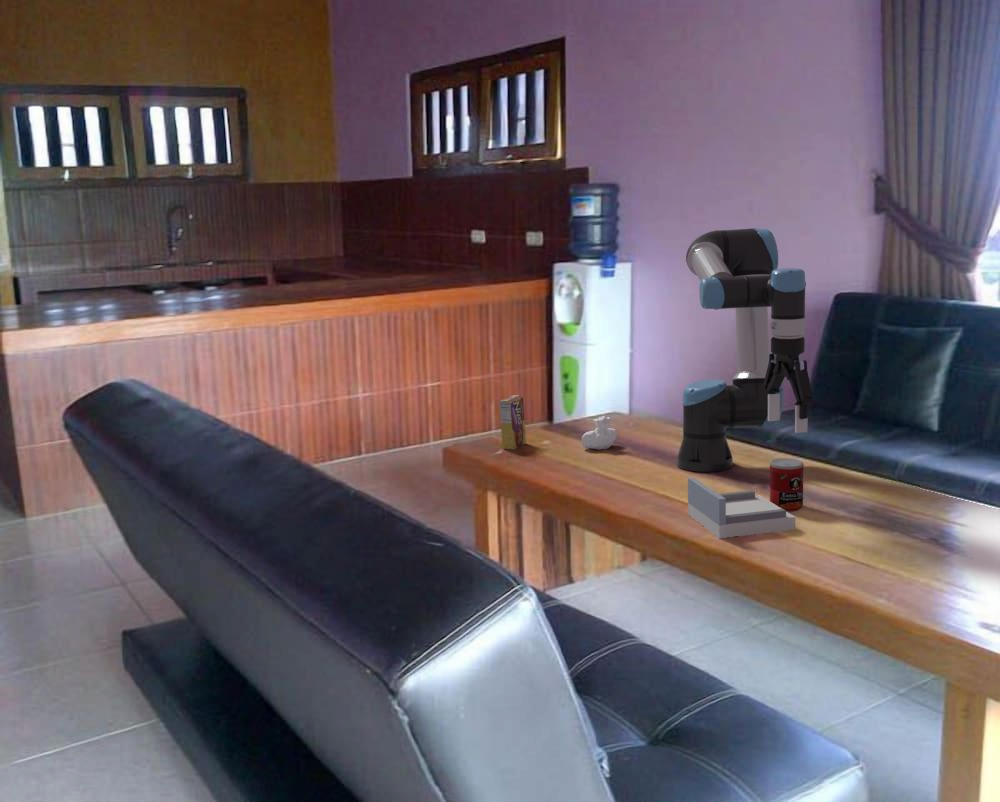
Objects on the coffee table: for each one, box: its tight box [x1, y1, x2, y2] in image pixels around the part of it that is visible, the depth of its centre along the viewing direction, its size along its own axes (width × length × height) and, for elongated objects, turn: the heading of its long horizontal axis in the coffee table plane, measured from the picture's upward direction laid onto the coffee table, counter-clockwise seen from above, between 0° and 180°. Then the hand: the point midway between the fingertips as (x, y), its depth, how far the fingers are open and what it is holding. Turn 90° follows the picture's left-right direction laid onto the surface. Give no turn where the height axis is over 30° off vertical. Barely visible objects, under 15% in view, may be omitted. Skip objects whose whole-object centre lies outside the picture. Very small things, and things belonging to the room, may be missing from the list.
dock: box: [687, 477, 796, 540], centre depth 232 cm, size 18×18×9 cm
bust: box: [581, 415, 618, 451], centre depth 305 cm, size 12×8×11 cm
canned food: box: [769, 457, 804, 512], centre depth 241 cm, size 8×8×11 cm
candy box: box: [499, 394, 527, 451], centre depth 313 cm, size 9×4×15 cm, turn 152°
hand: (787, 426), depth 238 cm, fingers open, 13 cm apart
